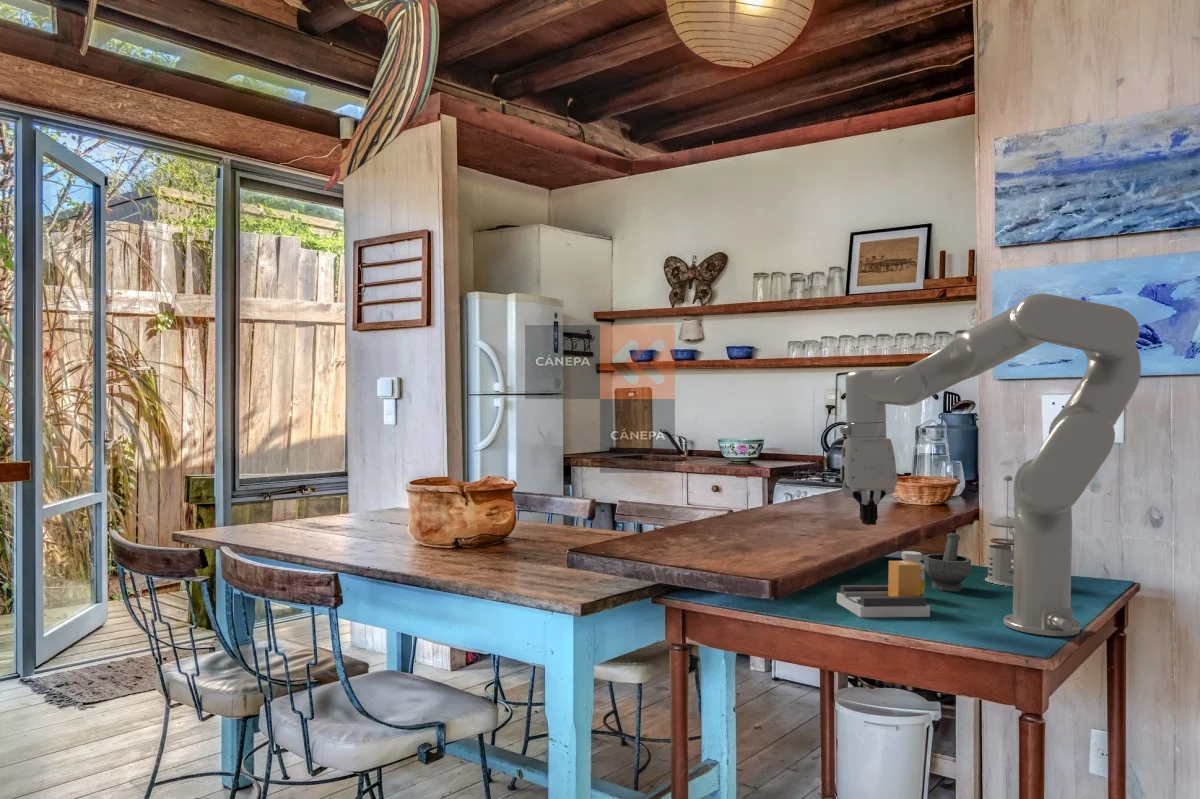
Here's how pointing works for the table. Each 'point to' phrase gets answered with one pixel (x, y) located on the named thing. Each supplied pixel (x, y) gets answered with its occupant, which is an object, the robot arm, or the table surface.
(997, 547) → the french press
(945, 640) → the table surface
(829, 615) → the table surface
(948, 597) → the table surface
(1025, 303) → the robot arm
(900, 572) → the orange rectangular block
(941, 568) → the mortar and pestle
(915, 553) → the supplement bottle
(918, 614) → the breaker panel
